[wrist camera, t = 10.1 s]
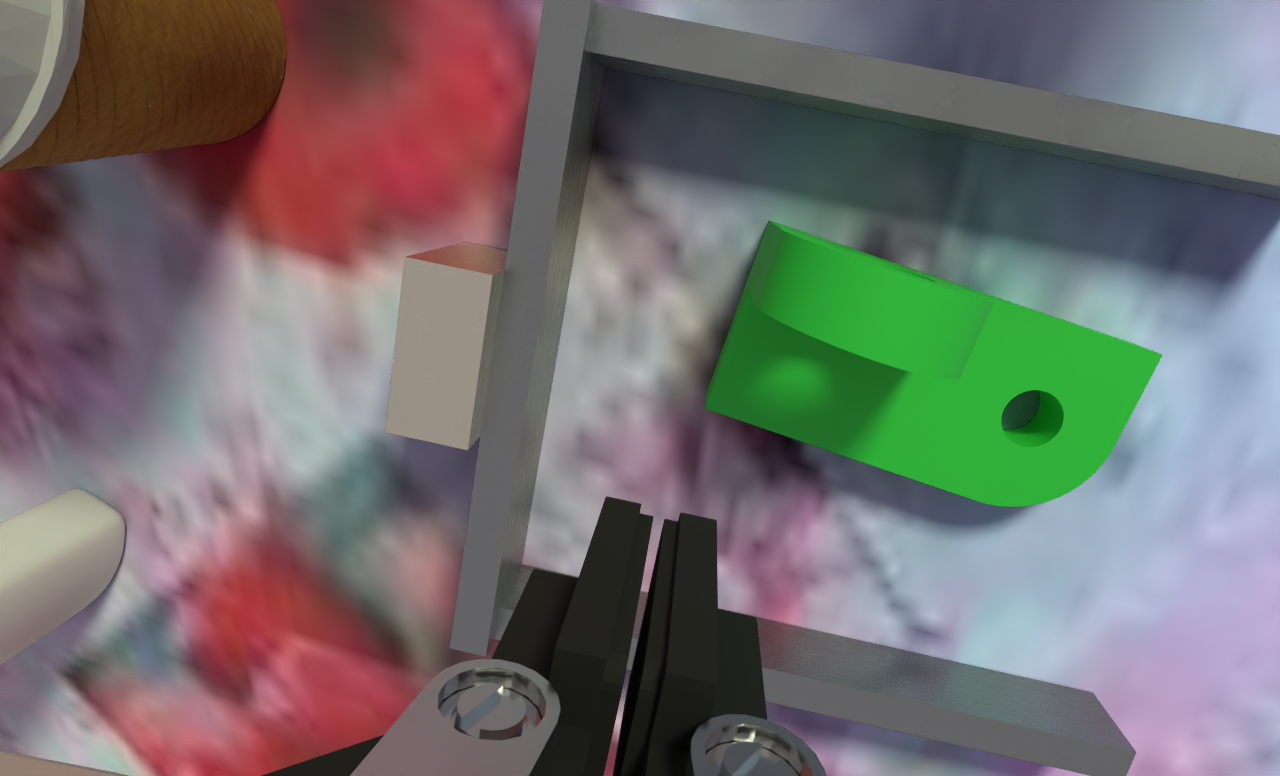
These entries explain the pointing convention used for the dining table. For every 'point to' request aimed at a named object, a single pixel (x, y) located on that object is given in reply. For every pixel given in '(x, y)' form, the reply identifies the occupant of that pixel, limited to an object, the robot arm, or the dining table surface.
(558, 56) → the drawer frame
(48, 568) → the eye dropper bottle
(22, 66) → the disposable coffee cup
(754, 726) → the robot arm
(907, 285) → the mechanical part
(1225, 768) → the dining table surface
